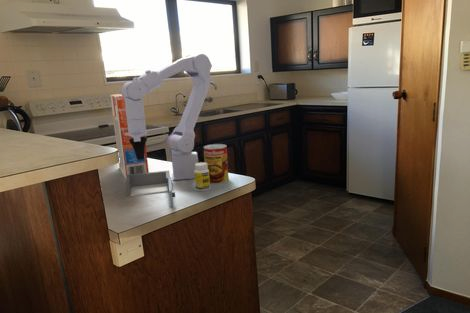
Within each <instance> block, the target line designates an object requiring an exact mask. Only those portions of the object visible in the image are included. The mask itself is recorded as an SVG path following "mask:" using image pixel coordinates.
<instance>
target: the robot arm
mask: <svg viewBox="0 0 470 313" xmlns="http://www.w3.org/2000/svg"><path fill="white" fill-rule="evenodd" d="M212 67H213V66H212V63H211V61H210V58H209V57H208V55H206V54H205V53H199V54H195V55H186V56H185V57H182V58H178V59H177V60H175V61H174V62H172V63H170V64H168V65H166V66H165V67H163V68H162V69H160V70H158V71H156V70H154V69H152V70H150V69H148V70H146V71H144V74H142V75H141V76H138V77H137V76H135V77H133V78H132V80H133V81H127V82H125V83H123V85H122V86H121V91H120V94H122V96H123V97H124V98H125V107H126V115H127V124H128V133H125V135H126V136H127V135H129V136H131V137H133V138H132V139H129V142H130V143H131V145H132V146H133V148H134V151H135V154H136V157H137V160H141V159H144V151H145V144H146V143H147V140H148V137H147V136H146V135H147V134H148V131H147V125H146V118H145V108H144V100H143V98H144V97H145V95H147V94H148V93H150V92H153V91H154V90H156V89H158V88H160V87H161V86H162V85H163V81H164V80H166V79H168V78H170V77H172V76H174V75H176V74H179V73H180V72H185V73H186V74H187V75H188V76H189V77H190V79H191V80H192V82H193V84H194V85H192V86H193V87H192V89H191V92H190V95H189V97H188V100H187V103H186V105H185V108H184V110H183V113H182V115H181V119H180V121H179V124H178V125H177V126H176V127H175V128H173V131H172V133H171V134H170V135H169V136H168V137H167V140H166V143H167V147H168V148H169V149H170V155H171V164H172V165H171V166H172V173H171V179H172V181H182V180H187V179H188V180H190V179H195V175H194V171H195V170H196V169H195V164H196V163H199V157H198V152H197V151H193V150H194V147H195V137H196V134H195V131H194V129H195V126H196V123H197V121H198V119H199V116H200V113H201V110H202V108H203V106H204V102H205V101H206V97H207V95H208V92H209V90H210V86H211V69H212ZM144 135H145V137H142V136H144Z"/></svg>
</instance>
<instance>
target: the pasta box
mask: <svg viewBox="0 0 470 313" xmlns="http://www.w3.org/2000/svg"><path fill="white" fill-rule="evenodd" d="M109 98H110V105H111V114H112V121H113V128H114V138H115V143H116V144H115V145H116V150H117V149H118V151H119V158H120V163H119V162H118V166H119V170H120V171H121V173H122V175H123V178H125V180H126V177H127V175H130V174H140V173H149V172H150V171H149V170H150V169H149V163H148V155H147V154H148V153H147V146H146V144H145V151H144V159H141V160H137V157H136V154H135V151H134V148H133V146H132V145H131V143H130V142H129V139H132V138H133V137H131V136H129V135H127V136H126V135H125V133H128V124H127V115H126V107H125V98H124V97H123V96H122V94H121V93H116V94H110V95H109ZM142 137H146V135H144V136H142Z"/></svg>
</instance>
